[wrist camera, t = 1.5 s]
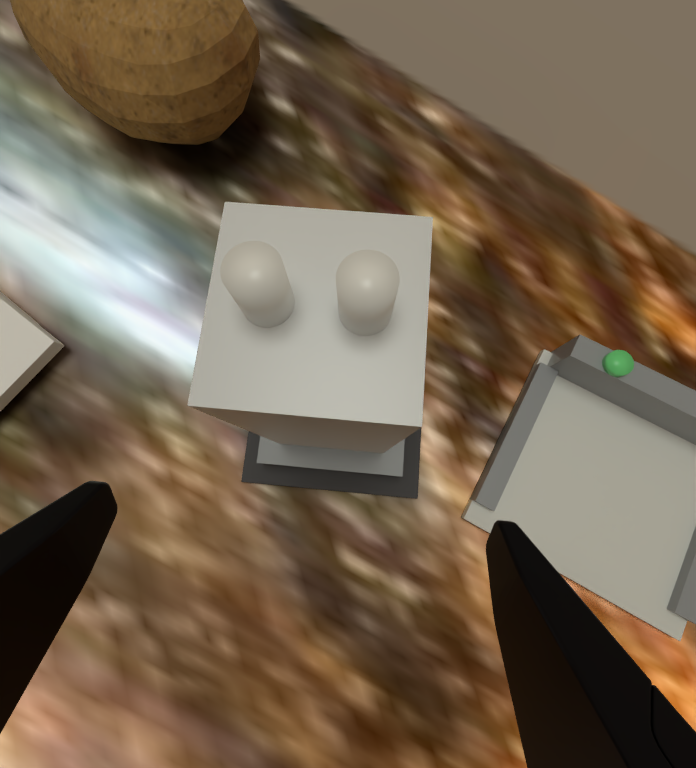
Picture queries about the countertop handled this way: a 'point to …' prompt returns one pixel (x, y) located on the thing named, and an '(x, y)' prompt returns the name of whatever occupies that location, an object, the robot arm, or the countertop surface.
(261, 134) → the countertop surface
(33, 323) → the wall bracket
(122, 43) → the potato
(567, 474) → the port
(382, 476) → the pad
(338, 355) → the plug
